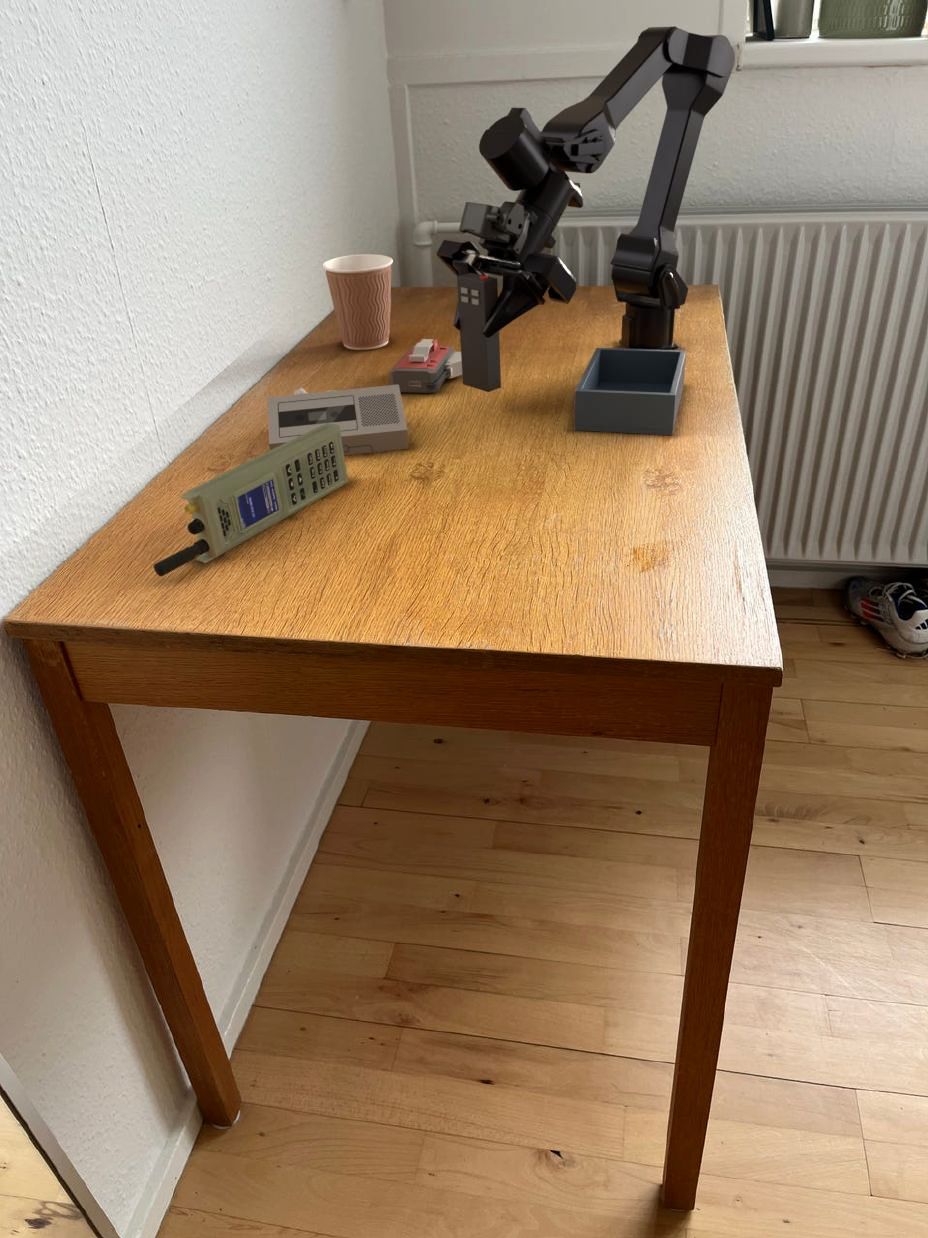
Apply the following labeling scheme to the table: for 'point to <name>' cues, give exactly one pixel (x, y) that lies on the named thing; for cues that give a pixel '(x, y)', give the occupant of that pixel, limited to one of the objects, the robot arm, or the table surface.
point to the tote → (630, 391)
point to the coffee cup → (361, 298)
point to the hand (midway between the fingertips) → (470, 331)
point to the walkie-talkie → (426, 367)
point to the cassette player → (343, 418)
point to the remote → (478, 332)
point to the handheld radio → (260, 494)
